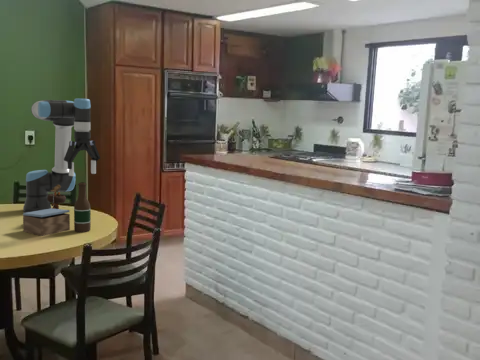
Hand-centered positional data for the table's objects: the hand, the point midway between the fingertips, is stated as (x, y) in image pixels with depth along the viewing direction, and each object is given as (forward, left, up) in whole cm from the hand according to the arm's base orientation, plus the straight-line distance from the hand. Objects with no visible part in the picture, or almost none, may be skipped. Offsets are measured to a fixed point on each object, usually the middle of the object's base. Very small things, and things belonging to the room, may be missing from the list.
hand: (82, 174), depth 244 cm
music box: (-4, -26, -28) cm, 39 cm away
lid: (+11, -13, -19) cm, 26 cm away
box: (+11, -13, -28) cm, 33 cm away
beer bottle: (0, -1, -28) cm, 28 cm away
